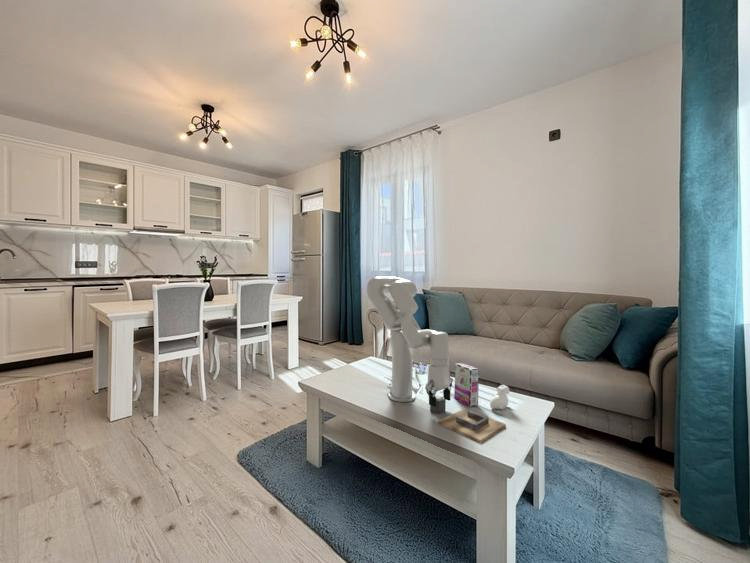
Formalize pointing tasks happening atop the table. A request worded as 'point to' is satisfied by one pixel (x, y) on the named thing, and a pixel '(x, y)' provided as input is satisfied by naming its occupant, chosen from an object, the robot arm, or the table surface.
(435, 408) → the connector plug
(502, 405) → the bust
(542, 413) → the table surface
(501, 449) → the table surface
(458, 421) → the end holder
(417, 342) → the robot arm
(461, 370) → the candy bar box
